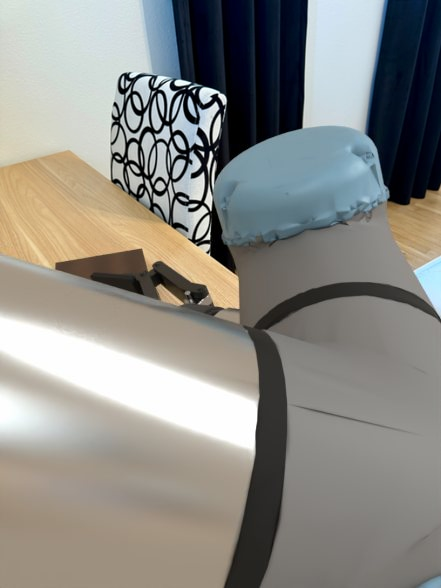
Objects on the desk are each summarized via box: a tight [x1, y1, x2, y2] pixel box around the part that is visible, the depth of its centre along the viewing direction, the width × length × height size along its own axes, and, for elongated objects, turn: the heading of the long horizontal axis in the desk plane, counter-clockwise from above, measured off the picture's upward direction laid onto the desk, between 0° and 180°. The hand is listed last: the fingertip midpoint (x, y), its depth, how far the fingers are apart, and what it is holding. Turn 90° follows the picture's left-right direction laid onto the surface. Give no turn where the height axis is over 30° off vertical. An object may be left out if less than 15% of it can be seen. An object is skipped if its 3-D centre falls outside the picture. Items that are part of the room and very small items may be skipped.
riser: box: [54, 247, 149, 280], centre depth 77 cm, size 16×14×5 cm
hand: (54, 322), depth 45 cm, fingers open, 13 cm apart
